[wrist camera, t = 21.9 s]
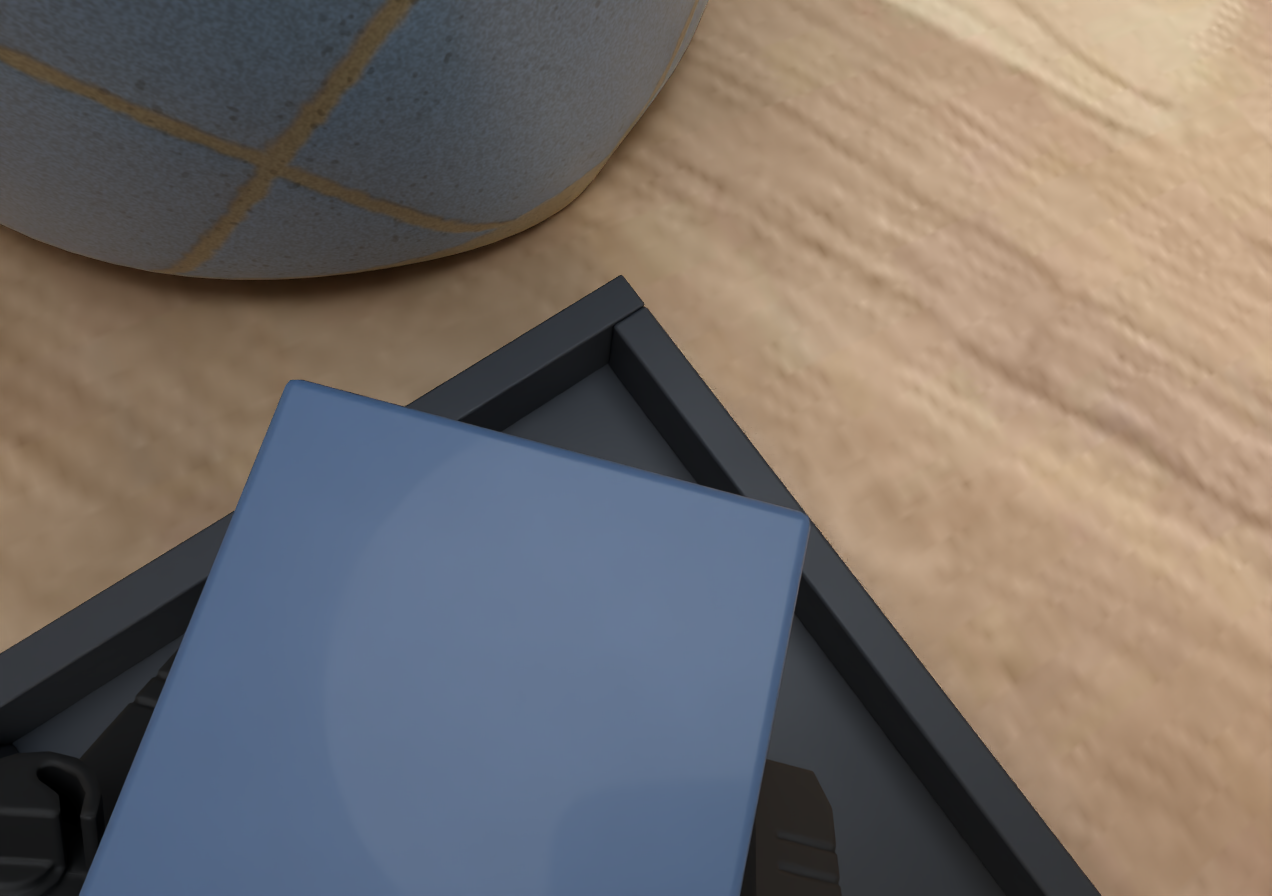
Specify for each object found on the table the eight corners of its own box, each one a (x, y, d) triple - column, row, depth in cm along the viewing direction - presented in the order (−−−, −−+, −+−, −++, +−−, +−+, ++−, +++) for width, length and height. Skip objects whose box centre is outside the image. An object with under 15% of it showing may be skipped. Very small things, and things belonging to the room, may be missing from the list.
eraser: (553, 1075, 14) (521, 2060, 4) (325, 1014, 14) (-316, 1844, 4) (663, 612, 17) (825, 460, 6) (467, 560, 17) (305, 322, 6)
